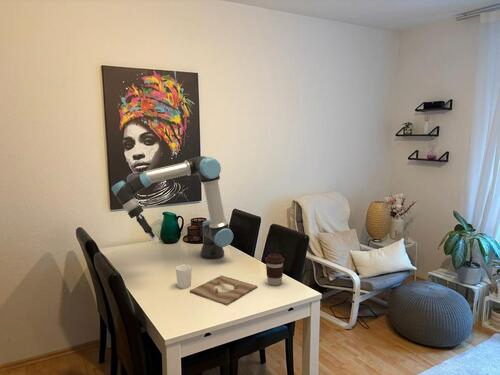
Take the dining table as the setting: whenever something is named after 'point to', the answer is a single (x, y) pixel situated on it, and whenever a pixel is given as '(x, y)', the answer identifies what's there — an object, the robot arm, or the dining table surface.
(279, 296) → the dining table surface
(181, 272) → the white cup
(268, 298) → the dining table surface
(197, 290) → the brown flat square piece
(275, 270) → the coffee cup
